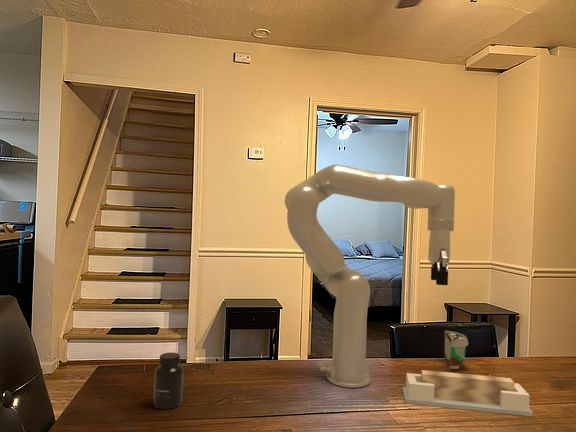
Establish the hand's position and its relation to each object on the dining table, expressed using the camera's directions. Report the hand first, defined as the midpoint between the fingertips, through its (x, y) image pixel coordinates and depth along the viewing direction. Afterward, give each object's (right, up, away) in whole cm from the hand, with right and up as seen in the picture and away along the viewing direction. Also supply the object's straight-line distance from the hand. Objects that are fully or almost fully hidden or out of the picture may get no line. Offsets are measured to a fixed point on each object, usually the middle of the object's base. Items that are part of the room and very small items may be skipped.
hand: (438, 282), depth 127 cm
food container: (+9, -29, +8) cm, 31 cm away
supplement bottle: (-75, -26, -24) cm, 83 cm away
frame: (0, -28, -18) cm, 34 cm away
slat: (0, -27, -19) cm, 33 cm away
